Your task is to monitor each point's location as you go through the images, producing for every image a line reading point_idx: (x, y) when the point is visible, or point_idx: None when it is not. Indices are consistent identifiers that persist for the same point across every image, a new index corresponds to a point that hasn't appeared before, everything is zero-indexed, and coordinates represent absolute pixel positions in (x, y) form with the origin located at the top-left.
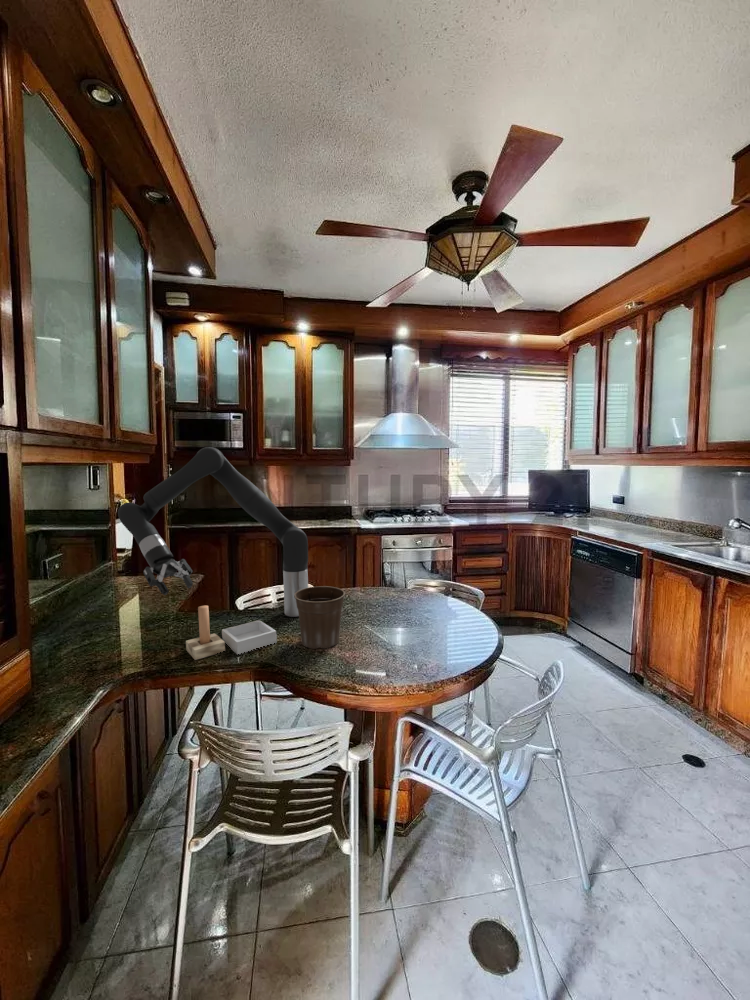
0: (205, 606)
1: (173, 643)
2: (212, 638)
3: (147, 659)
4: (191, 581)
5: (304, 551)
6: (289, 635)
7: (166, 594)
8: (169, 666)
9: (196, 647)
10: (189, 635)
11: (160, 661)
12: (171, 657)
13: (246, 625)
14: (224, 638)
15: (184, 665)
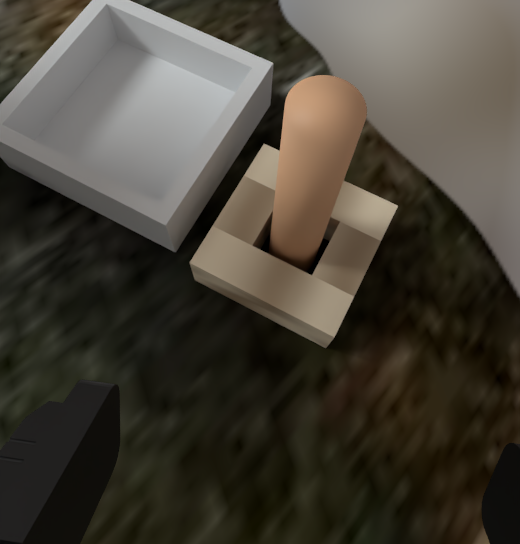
0: (306, 103)
1: (290, 496)
2: (252, 225)
3: (493, 455)
4: (31, 432)
5: None
6: (28, 31)
7: (489, 497)
8: (480, 285)
9: (370, 220)
10: (163, 500)
11: (471, 368)
12: (417, 352)
13: (61, 155)
14: (188, 215)
15: (440, 232)
